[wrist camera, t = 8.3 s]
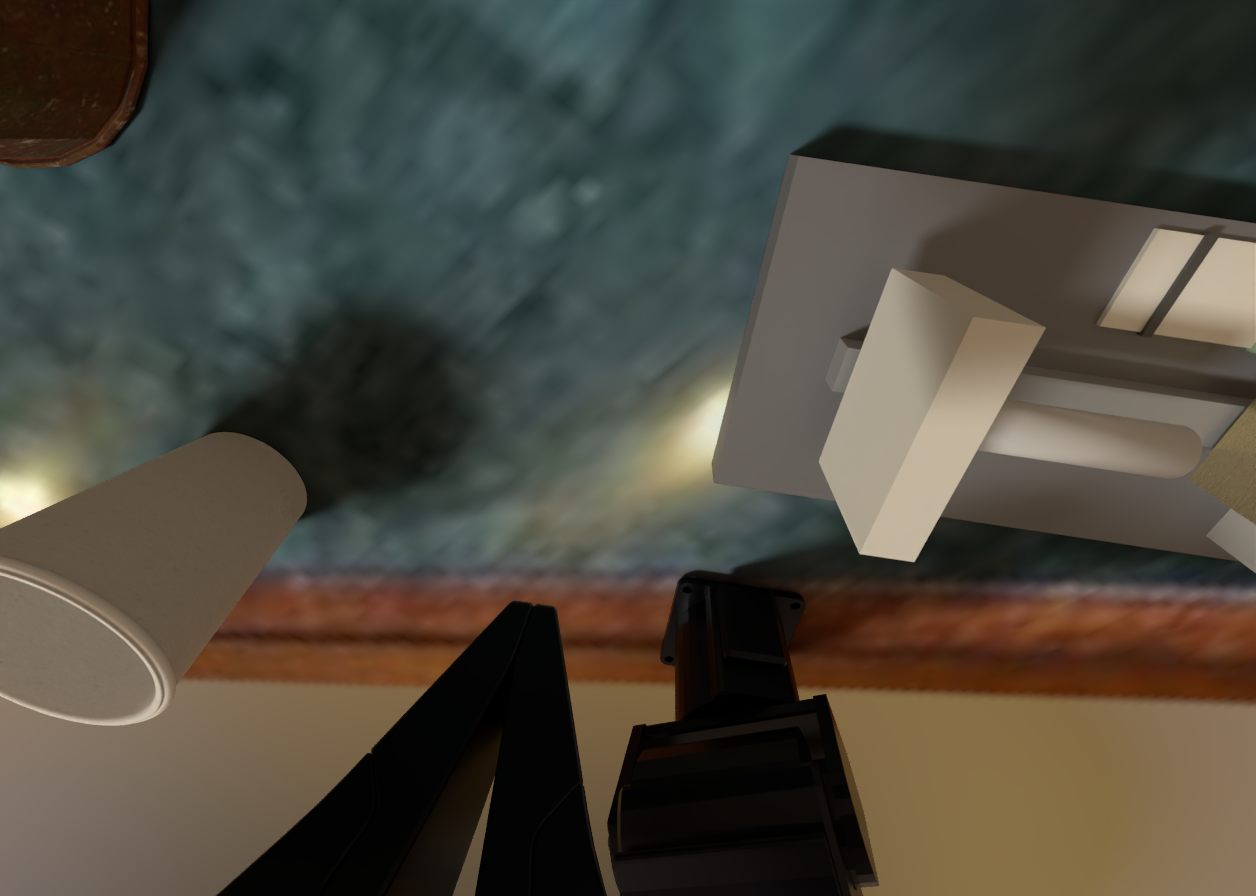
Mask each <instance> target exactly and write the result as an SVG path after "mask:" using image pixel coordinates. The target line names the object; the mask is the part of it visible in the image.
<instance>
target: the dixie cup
mask: <svg viewBox="0 0 1256 896" xmlns="http://www.w3.org/2000/svg"><path fill="white" fill-rule="evenodd" d="M306 505H307V493H306V489H305V486H304V483H303V481H302V479H301V477H300V475H299V474H298V472H297V471H296V470H295V468H294V467H293V466H292V465H291V464H290V462H289V461H288V460H287V459H286V458H284V457H283V456H282V455H281V454H280V453H279V452H277V451H276V450H274V449H273V448H272V447H270V446H268V445H267V444H265V443H263V442H261V441H259V440H257V439H255V438H252V437H249V436H246V435H243V434H239V433H233V432H217V433H212V434H209V435H206V436H204V437H202V438H199V439H197V440H195V441H193V442H191V443H188V444H186V445H184V446H182V447H180V448H177V449H175V450H173V451H171V452H169V453H166V454H164V455H162V456H160V457H158V458H155V459H153V460H151V461H149V462H147V463H144V464H142V465H140V466H138V467H135V468H133V469H131V470H129V471H127V472H124V473H122V474H120V475H118V476H116V477H113V478H111V479H109V480H107V481H105V482H102V483H100V484H98V485H96V486H94V487H91V488H89V489H87V490H85V491H83V492H80V493H78V494H76V495H74V496H72V497H69V498H67V499H65V500H63V501H60V502H58V503H56V504H54V505H52V506H49V507H47V508H45V509H43V510H41V511H38V512H36V513H34V514H32V515H30V516H27V517H25V518H23V519H21V520H19V521H16V522H14V523H12V524H10V525H8V526H5V527H3V528H1V529H0V696H1V697H4V698H6V699H8V700H10V701H12V702H15V703H17V704H20V705H22V706H24V707H27V708H30V709H33V710H35V711H38V712H41V713H44V714H47V715H51V716H54V717H58V718H62V719H65V720H70V721H74V722H80V723H86V724H94V725H109V726H111V725H127V724H132V723H137V722H142V721H145V720H148V719H151V718H153V717H155V716H157V715H159V714H160V713H162V712H163V711H164V710H165V709H166V708H167V707H168V706H169V705H170V703H171V702H172V700H173V698H174V695H175V691H176V685H177V684H178V683H179V681H180V680H181V679H182V677H183V676H184V674H185V673H186V672H187V670H188V669H189V668H190V666H191V665H192V664H193V662H194V661H195V660H196V658H197V657H198V655H199V654H200V653H201V651H202V650H203V649H204V647H205V646H206V645H207V643H208V642H209V641H210V639H211V638H212V636H213V635H214V634H215V632H216V631H217V630H218V628H219V627H220V626H221V624H222V623H223V622H224V620H225V619H226V617H227V616H228V615H229V613H230V612H231V611H232V609H233V608H234V607H235V605H236V604H237V603H238V601H239V600H240V598H241V597H242V596H243V594H244V593H245V592H246V590H247V589H248V588H249V586H250V585H251V584H252V582H253V581H254V579H255V578H256V577H257V575H258V574H259V573H260V571H261V570H262V569H263V567H264V566H265V565H266V563H267V562H268V560H269V559H270V558H271V556H272V555H273V554H274V552H275V551H276V550H277V548H278V547H279V545H280V544H281V543H282V541H283V540H284V539H285V537H286V536H287V535H288V533H289V532H290V531H291V529H292V528H293V526H294V525H295V524H296V522H297V521H298V520H299V518H300V517H301V516H302V514H303V513H304V511H305V508H306Z"/></svg>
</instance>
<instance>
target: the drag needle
mask: <svg viewBox="0 0 1256 896" xmlns="http://www.w3.org/2000/svg"><path fill="white" fill-rule="evenodd" d="M1188 480H1189V481H1191V482H1192V483H1194V484H1195V485H1197V486H1198V487H1200V488H1201V489H1203V490H1204V491H1206V492H1207V493H1209V494H1210V495H1212V496H1213V497H1215V498H1216V499H1218V500H1219V501H1221V502H1222V503H1224V504H1225V505H1227V506H1228V507H1230V508H1231V509H1233V510H1234V511H1236V512H1237V513H1239V514H1240V515H1242V516H1243V517H1245V518H1246V519H1248V520H1249V521H1251V522H1252V523H1254V524H1255V525H1256V398H1255V399H1254V401H1253V402H1252V403H1251V404H1250V405H1249V407H1248V408H1247V409H1246V410H1245V411H1244V412H1243V414H1242V415H1241V416H1240V417H1239V418H1238V420H1237V421H1236V422H1235V423H1234V424H1233V426H1232V427H1231V428H1230V429H1229V430H1228V432H1227V433H1226V434H1225V435H1224V436H1223V438H1222V439H1221V440H1220V441H1219V442H1218V443H1217V445H1216V446H1215V447H1214V448H1213V449H1212V451H1211V452H1210V453H1209V454H1208V455H1207V457H1206V458H1205V459H1204V460H1203V461H1202V463H1201V464H1200V465H1199V466H1198V467H1197V468H1196V470H1195V471H1194V472H1193V473H1192V474H1191V476H1190V477H1189V478H1188Z"/></svg>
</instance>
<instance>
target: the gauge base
mask: <svg viewBox="0 0 1256 896" xmlns="http://www.w3.org/2000/svg"><path fill="white" fill-rule="evenodd" d="M892 268H897V269H903V270H910V271H917V272H924V273H930V274H937V275H944V276H946V277H948V278H950V279H952V280H954V281H956V282H958V283H960V284H962V285H964V286H966V287H968V288H970V289H972V290H974V291H976V292H977V293H979V294H981V295H983V296H985V297H987V298H989V299H991V300H993V301H995V302H997V303H999V304H1001V305H1003V306H1005V307H1007V308H1009V309H1011V310H1013V311H1014V312H1016V313H1018V314H1020V315H1022V316H1024V317H1026V318H1028V319H1030V320H1032V321H1034V322H1036V323H1038V324H1040V325H1042V326H1044V327H1046V329H1045V330H1044V332H1043V334H1042V336H1041V338H1040V339H1039V341H1038V343H1037V345H1036V346H1035V348H1034V350H1033V352H1032V354H1031V355H1030V357H1029V359H1028V361H1027V363H1026V364H1025V366H1024V368H1023V370H1022V371H1021V373H1020V375H1019V377H1018V379H1017V380H1016V382H1015V384H1014V386H1013V387H1012V389H1011V391H1010V393H1009V395H1008V396H1007V398H1006V399H1008V400H1014V401H1021V402H1028V403H1035V404H1041V405H1048V406H1055V407H1061V408H1068V409H1075V410H1082V411H1088V412H1095V413H1102V414H1108V415H1115V416H1122V417H1129V418H1135V419H1142V420H1149V421H1156V422H1162V423H1169V424H1176V425H1182V426H1186V427H1189V428H1191V429H1192V430H1194V431H1195V432H1196V433H1197V434H1198V436H1199V437H1200V439H1201V442H1202V454H1201V458H1200V460H1199V462H1198V464H1197V465H1196V466H1195V468H1194V469H1193V470H1191V471H1190V472H1189V473H1187V474H1186V475H1184V476H1182V477H1179V478H1174V479H1165V478H1159V477H1152V476H1145V475H1138V474H1132V473H1125V472H1118V471H1112V470H1105V469H1098V468H1092V467H1085V466H1078V465H1071V464H1065V463H1058V462H1051V461H1045V460H1038V459H1031V458H1024V457H1018V456H1011V455H1004V454H998V453H991V452H984V451H977V452H976V453H975V455H974V457H973V459H972V460H971V462H970V464H969V466H968V468H967V469H966V471H965V473H964V475H963V476H962V478H961V480H960V482H959V484H958V485H957V487H956V489H955V491H954V493H953V494H952V496H951V498H950V500H949V501H948V503H947V505H946V507H945V509H944V510H943V512H942V514H941V516H940V517H945V518H952V519H958V520H965V521H972V522H979V523H985V524H992V525H999V526H1005V527H1012V528H1019V529H1025V530H1032V531H1039V532H1045V533H1052V534H1059V535H1066V536H1072V537H1079V538H1086V539H1092V540H1099V541H1106V542H1112V543H1119V544H1126V545H1133V546H1139V547H1146V548H1153V549H1159V550H1166V551H1173V552H1179V553H1186V554H1193V555H1199V556H1206V557H1213V558H1220V559H1226V560H1233V561H1240V562H1241V563H1243V564H1244V565H1245V566H1247V567H1248V568H1249V569H1251V570H1252V571H1253V572H1255V573H1256V525H1255V524H1254V523H1252V522H1251V521H1249V520H1248V519H1246V518H1245V517H1243V516H1242V515H1240V514H1239V513H1237V512H1236V511H1234V510H1233V509H1231V508H1230V507H1228V506H1227V505H1225V504H1224V503H1222V502H1221V501H1219V500H1218V499H1216V498H1215V497H1213V496H1212V495H1210V494H1209V493H1207V492H1206V491H1204V490H1203V489H1201V488H1200V487H1198V486H1197V485H1195V484H1194V483H1192V482H1191V481H1189V480H1188V478H1189V477H1190V476H1191V474H1192V473H1193V472H1194V471H1195V470H1196V468H1197V467H1198V466H1199V465H1200V464H1201V463H1202V461H1203V460H1204V459H1205V458H1206V457H1207V455H1208V454H1209V453H1210V452H1211V451H1212V449H1213V448H1214V447H1215V446H1216V445H1217V443H1218V442H1219V441H1220V440H1221V439H1222V438H1223V436H1224V435H1225V434H1226V433H1227V432H1228V430H1229V429H1230V428H1231V427H1232V426H1233V424H1234V423H1235V422H1236V421H1237V420H1238V418H1239V417H1240V416H1241V415H1242V414H1243V412H1244V411H1245V410H1246V409H1247V408H1248V407H1249V405H1250V404H1251V403H1252V402H1253V401H1254V399H1255V398H1256V223H1249V222H1243V221H1236V220H1229V219H1222V218H1216V217H1209V216H1202V215H1195V214H1189V213H1182V212H1175V211H1168V210H1161V209H1155V208H1148V207H1141V206H1134V205H1128V204H1121V203H1114V202H1107V201H1101V200H1094V199H1087V198H1080V197H1074V196H1067V195H1060V194H1053V193H1046V192H1040V191H1033V190H1026V189H1019V188H1013V187H1006V186H999V185H992V184H986V183H979V182H972V181H965V180H959V179H952V178H945V177H938V176H931V175H925V174H918V173H911V172H904V171H898V170H891V169H884V168H877V167H871V166H864V165H857V164H850V163H844V162H837V161H830V160H823V159H816V158H810V157H803V156H796V155H789V158H788V162H787V166H786V170H785V174H784V178H783V182H782V186H781V190H780V194H779V198H778V202H777V206H776V210H775V214H774V218H773V222H772V226H771V230H770V234H769V238H768V242H767V246H766V250H765V254H764V258H763V261H762V265H761V269H760V273H759V277H758V281H757V285H756V289H755V293H754V297H753V301H752V305H751V309H750V313H749V317H748V321H747V325H746V329H745V333H744V337H743V341H742V345H741V349H740V353H739V357H738V361H737V365H736V369H735V373H734V377H733V381H732V385H731V389H730V393H729V397H728V401H727V405H726V409H725V413H724V417H723V421H722V425H721V429H720V433H719V437H718V441H717V445H716V449H715V453H714V456H713V460H712V471H713V480H714V483H717V484H724V485H731V486H738V487H744V488H751V489H758V490H764V491H771V492H778V493H784V494H791V495H798V496H804V497H811V498H818V499H825V500H831V501H836V500H835V498H834V495H833V493H832V491H831V489H830V486H829V484H828V482H827V479H826V477H825V475H824V473H823V470H822V468H821V466H820V464H819V459H820V456H821V454H822V451H823V448H824V446H825V443H826V440H827V438H828V435H829V432H830V430H831V427H832V425H833V422H834V419H835V417H836V414H837V411H838V409H839V406H840V403H841V401H842V398H843V396H844V393H845V390H846V388H847V385H848V382H849V380H850V377H851V374H852V372H853V369H854V366H855V364H856V361H857V359H858V356H859V353H860V351H861V348H862V345H863V343H864V340H865V337H866V335H867V332H868V330H869V327H870V324H871V322H872V319H873V316H874V314H875V311H876V308H877V306H878V303H879V300H880V298H881V295H882V293H883V290H884V287H885V285H886V282H887V279H888V277H889V274H890V271H891V269H892Z"/></svg>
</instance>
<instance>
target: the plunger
mask: <svg viewBox="0 0 1256 896" xmlns="http://www.w3.org/2000/svg"><path fill="white" fill-rule="evenodd" d="M1045 329H1046V327H1044V326H1042V325H1040V324H1038V323H1036V322H1034V321H1032V320H1030V319H1028V318H1026V317H1024V316H1022V315H1020V314H1018V313H1016V312H1014V311H1013V310H1011V309H1009V308H1007V307H1005V306H1003V305H1001V304H999V303H997V302H995V301H993V300H991V299H989V298H987V297H985V296H983V295H981V294H979V293H977V292H976V291H974V290H972V289H970V288H968V287H966V286H964V285H962V284H960V283H958V282H956V281H954V280H952V279H950V278H948V277H946V276H944V275H937V274H930V273H924V272H917V271H910V270H903V269H897V268H892V269H891V271H890V274H889V277H888V279H887V282H886V285H885V287H884V290H883V293H882V295H881V298H880V300H879V303H878V306H877V308H876V311H875V314H874V316H873V319H872V322H871V324H870V327H869V330H868V332H867V335H866V337H865V340H864V343H863V345H862V348H861V351H860V353H859V356H858V359H857V361H856V364H855V366H854V369H853V372H852V374H851V377H850V380H849V382H848V385H847V388H846V390H845V393H844V396H843V398H842V401H841V403H840V406H839V409H838V411H837V414H836V417H835V419H834V422H833V425H832V427H831V430H830V432H829V435H828V438H827V440H826V443H825V446H824V448H823V451H822V454H821V456H820V459H819V464H820V466H821V468H822V470H823V473H824V475H825V477H826V479H827V482H828V484H829V486H830V489H831V491H832V493H833V495H834V498H835V500H836V502H837V504H838V507H839V509H840V511H841V513H842V516H843V518H844V520H845V523H846V525H847V527H848V529H849V532H850V534H851V536H852V538H853V541H854V543H855V545H856V547H857V550H858V552H859V554H863V555H869V556H876V557H883V558H889V559H896V560H903V561H909V562H915V560H916V558H917V557H918V555H919V553H920V551H921V549H922V548H923V546H924V544H925V542H926V541H927V539H928V537H929V535H930V533H931V532H932V530H933V528H934V526H935V525H936V523H937V521H938V519H939V517H940V516H941V514H942V512H943V510H944V509H945V507H946V505H947V503H948V501H949V500H950V498H951V496H952V494H953V493H954V491H955V489H956V487H957V485H958V484H959V482H960V480H961V478H962V476H963V475H964V473H965V471H966V469H967V468H968V466H969V464H970V462H971V460H972V459H973V457H974V455H975V453H976V452H977V451H984V452H991V453H998V454H1004V455H1011V456H1018V457H1024V458H1031V459H1038V460H1045V461H1051V462H1058V463H1065V464H1071V465H1078V466H1085V467H1092V468H1098V469H1105V470H1112V471H1118V472H1125V473H1132V474H1138V475H1145V476H1152V477H1159V478H1165V479H1174V478H1179V477H1182V476H1184V475H1186V474H1187V473H1189V472H1190V471H1191V470H1193V469H1194V468H1195V466H1196V465H1197V464H1198V462H1199V460H1200V458H1201V454H1202V442H1201V439H1200V437H1199V436H1198V434H1197V433H1196V432H1195V431H1194V430H1192V429H1191V428H1189V427H1186V426H1182V425H1176V424H1169V423H1162V422H1156V421H1149V420H1142V419H1135V418H1129V417H1122V416H1115V415H1108V414H1102V413H1095V412H1088V411H1082V410H1075V409H1068V408H1061V407H1055V406H1048V405H1041V404H1035V403H1028V402H1021V401H1014V400H1008V399H1006V398H1007V396H1008V395H1009V393H1010V391H1011V389H1012V387H1013V386H1014V384H1015V382H1016V380H1017V379H1018V377H1019V375H1020V373H1021V371H1022V370H1023V368H1024V366H1025V364H1026V363H1027V361H1028V359H1029V357H1030V355H1031V354H1032V352H1033V350H1034V348H1035V346H1036V345H1037V343H1038V341H1039V339H1040V338H1041V336H1042V334H1043V332H1044V330H1045Z"/></svg>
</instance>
